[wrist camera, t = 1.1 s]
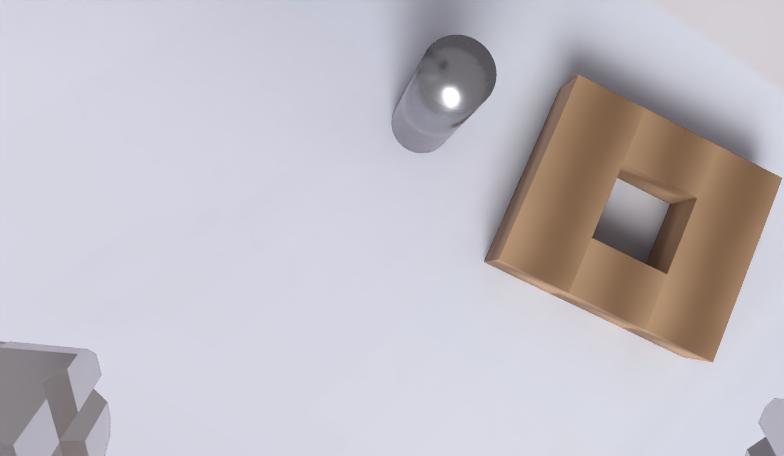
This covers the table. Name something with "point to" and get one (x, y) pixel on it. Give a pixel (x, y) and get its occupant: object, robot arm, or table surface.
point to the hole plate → (675, 239)
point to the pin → (443, 92)
